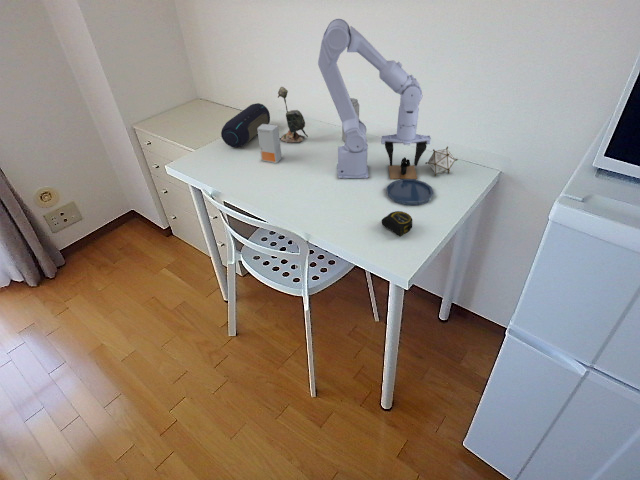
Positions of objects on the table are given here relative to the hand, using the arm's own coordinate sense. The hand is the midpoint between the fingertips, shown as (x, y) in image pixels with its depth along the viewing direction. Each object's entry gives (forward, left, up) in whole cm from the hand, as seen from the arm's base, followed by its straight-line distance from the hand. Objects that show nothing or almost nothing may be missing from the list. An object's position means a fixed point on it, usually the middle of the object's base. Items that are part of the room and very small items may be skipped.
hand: (403, 164), depth 126 cm
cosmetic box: (-44, +9, -3) cm, 45 cm away
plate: (+1, -12, -3) cm, 13 cm away
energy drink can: (-17, +24, -3) cm, 30 cm away
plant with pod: (-38, +25, -3) cm, 46 cm away
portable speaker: (-56, +28, -3) cm, 63 cm away
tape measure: (-4, -31, -3) cm, 31 cm away
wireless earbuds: (+1, -1, -3) cm, 3 cm away
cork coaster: (0, 0, -3) cm, 3 cm away
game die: (+12, 0, -3) cm, 12 cm away
